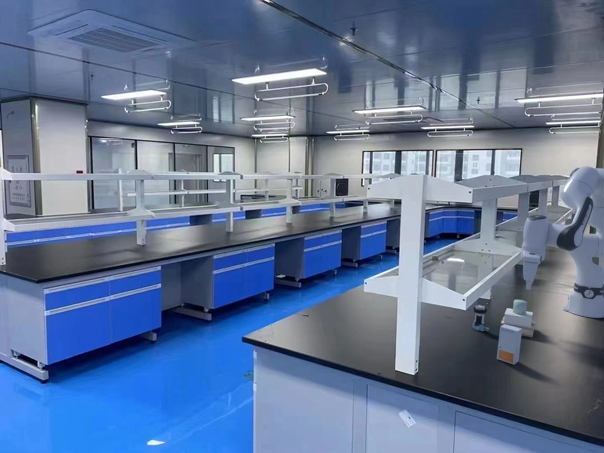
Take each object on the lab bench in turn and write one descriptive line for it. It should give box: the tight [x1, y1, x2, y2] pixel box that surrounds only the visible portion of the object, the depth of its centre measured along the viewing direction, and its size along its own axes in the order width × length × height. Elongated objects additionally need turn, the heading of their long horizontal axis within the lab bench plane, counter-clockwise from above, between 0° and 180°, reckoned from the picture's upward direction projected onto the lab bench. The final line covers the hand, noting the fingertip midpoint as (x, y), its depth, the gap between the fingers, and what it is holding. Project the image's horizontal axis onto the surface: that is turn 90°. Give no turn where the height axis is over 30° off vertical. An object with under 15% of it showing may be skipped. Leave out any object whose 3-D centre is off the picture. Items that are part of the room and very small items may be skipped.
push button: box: [471, 304, 490, 332], centre depth 184 cm, size 7×5×10 cm
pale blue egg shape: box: [512, 299, 528, 315], centre depth 185 cm, size 5×5×5 cm
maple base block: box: [499, 316, 536, 338], centre depth 186 cm, size 12×12×4 cm
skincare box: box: [496, 324, 522, 366], centre depth 153 cm, size 6×4×12 cm
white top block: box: [503, 307, 534, 328], centre depth 185 cm, size 10×10×4 cm
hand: (529, 286), depth 185 cm, fingers open, 8 cm apart
